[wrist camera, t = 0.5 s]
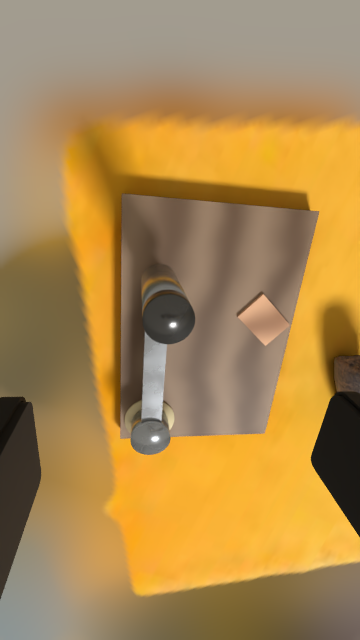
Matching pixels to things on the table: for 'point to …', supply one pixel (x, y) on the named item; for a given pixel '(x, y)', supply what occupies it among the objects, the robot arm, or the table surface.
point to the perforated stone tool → (347, 373)
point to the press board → (213, 307)
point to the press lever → (158, 352)
